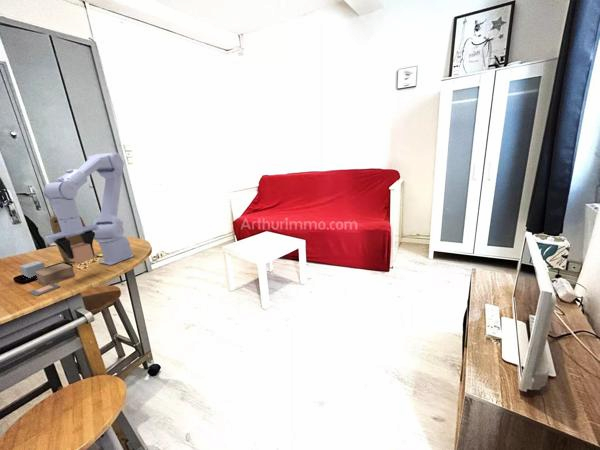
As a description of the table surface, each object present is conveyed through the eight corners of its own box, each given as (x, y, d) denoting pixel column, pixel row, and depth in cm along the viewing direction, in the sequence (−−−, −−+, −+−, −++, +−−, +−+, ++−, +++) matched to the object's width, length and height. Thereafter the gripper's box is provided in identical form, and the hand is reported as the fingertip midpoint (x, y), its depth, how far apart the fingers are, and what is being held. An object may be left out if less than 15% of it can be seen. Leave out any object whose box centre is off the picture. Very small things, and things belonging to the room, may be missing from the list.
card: (51, 284, 90) (51, 282, 90) (60, 287, 88) (59, 285, 88) (28, 292, 85) (28, 291, 85) (37, 296, 83) (36, 294, 83)
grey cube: (41, 272, 101) (37, 260, 100) (47, 274, 99) (43, 262, 98) (24, 278, 97) (19, 266, 96) (30, 280, 95) (25, 268, 93)
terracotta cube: (86, 255, 96) (82, 242, 95) (93, 257, 94) (89, 244, 92) (70, 260, 92) (65, 247, 90) (77, 262, 90) (73, 249, 88)
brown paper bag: (62, 265, 107) (46, 217, 102) (64, 259, 113) (49, 214, 108) (95, 257, 113) (81, 212, 108) (95, 252, 119) (82, 209, 114)
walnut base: (66, 272, 100) (63, 262, 99) (75, 276, 96) (71, 266, 95) (38, 282, 94) (34, 271, 93) (46, 286, 90) (42, 276, 89)
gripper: (47, 224, 81) (61, 265, 84) (99, 213, 93) (109, 249, 97) (36, 223, 84) (50, 262, 88) (88, 212, 96) (98, 247, 100)
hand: (80, 255), depth 92 cm, fingers closed on terracotta cube, 5 cm apart
